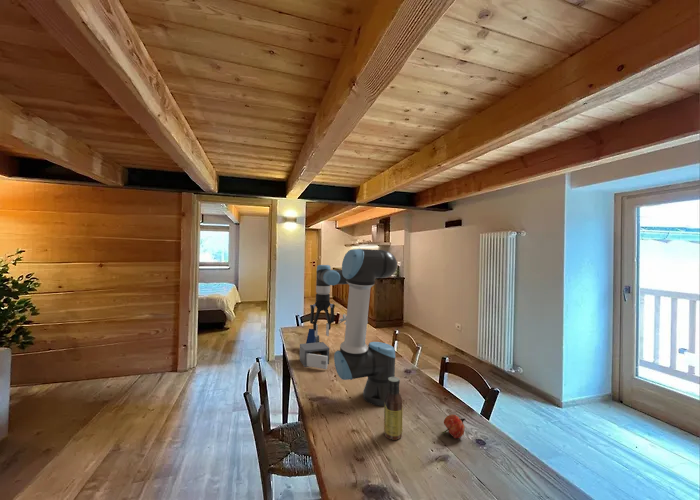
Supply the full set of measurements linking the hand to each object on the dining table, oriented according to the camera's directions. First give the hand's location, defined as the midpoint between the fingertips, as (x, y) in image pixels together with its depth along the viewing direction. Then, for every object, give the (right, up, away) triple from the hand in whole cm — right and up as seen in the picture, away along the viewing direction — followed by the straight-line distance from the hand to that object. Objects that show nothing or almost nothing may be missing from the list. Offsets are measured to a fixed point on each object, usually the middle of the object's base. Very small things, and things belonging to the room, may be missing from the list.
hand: (321, 335), depth 166 cm
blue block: (-9, -17, +28) cm, 34 cm away
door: (-3, -16, -3) cm, 16 cm away
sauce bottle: (+30, -18, -60) cm, 70 cm away
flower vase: (+17, -18, +23) cm, 33 cm away
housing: (-5, -17, +7) cm, 19 cm away
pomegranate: (+51, -18, -59) cm, 81 cm away
